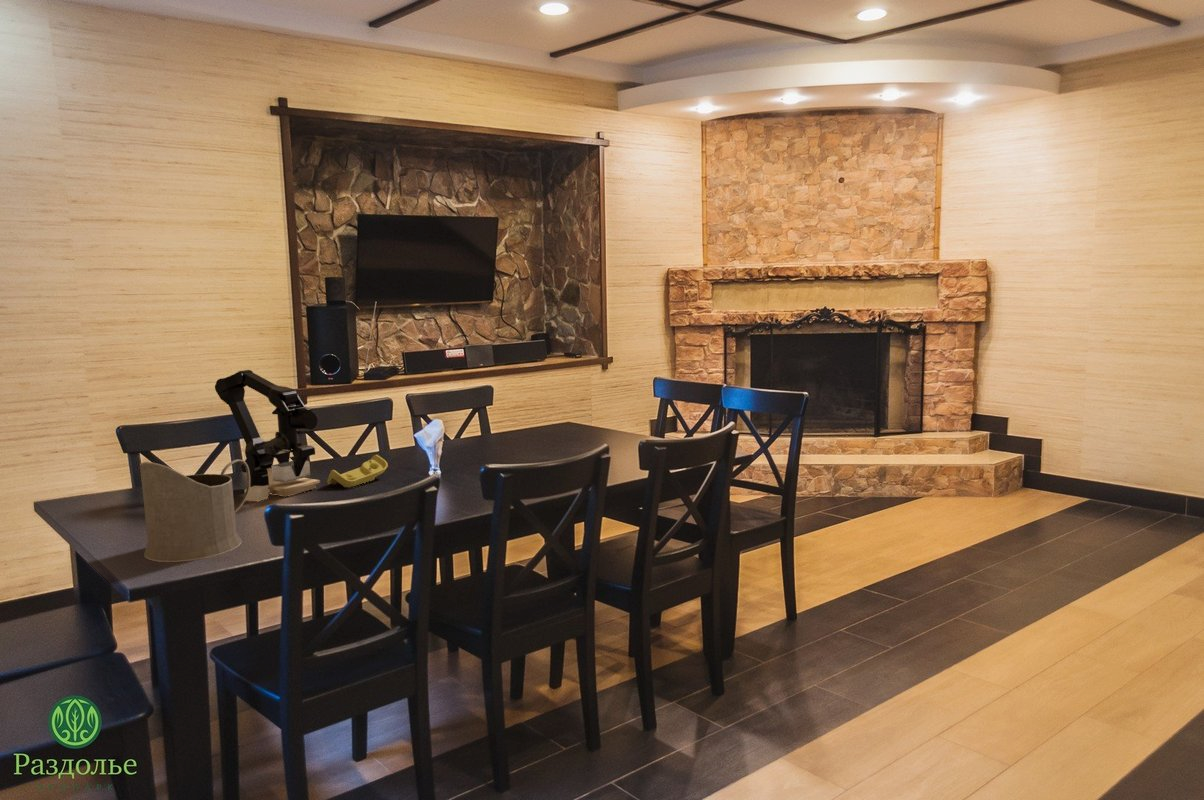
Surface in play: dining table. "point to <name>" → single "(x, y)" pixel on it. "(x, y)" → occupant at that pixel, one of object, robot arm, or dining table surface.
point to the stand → (292, 486)
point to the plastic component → (359, 473)
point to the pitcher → (188, 513)
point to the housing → (289, 471)
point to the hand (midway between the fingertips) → (291, 475)
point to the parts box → (257, 493)
